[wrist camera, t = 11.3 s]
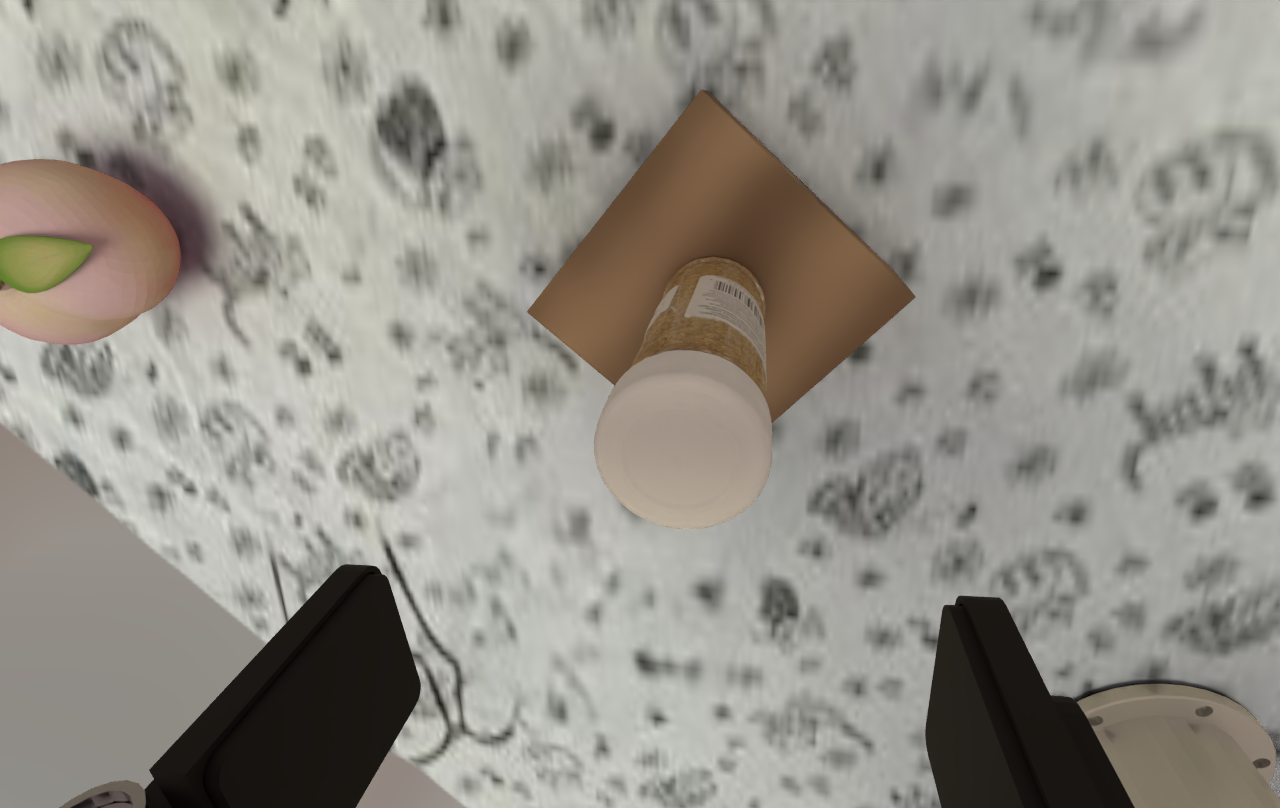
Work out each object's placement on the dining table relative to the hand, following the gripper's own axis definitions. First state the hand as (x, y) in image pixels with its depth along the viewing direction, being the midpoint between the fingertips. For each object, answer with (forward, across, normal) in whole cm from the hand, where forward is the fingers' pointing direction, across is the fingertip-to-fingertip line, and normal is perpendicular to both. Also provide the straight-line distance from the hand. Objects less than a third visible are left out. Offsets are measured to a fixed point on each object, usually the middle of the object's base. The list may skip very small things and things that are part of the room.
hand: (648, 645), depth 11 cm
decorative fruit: (+23, +32, -5) cm, 39 cm away
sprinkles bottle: (+19, 0, 0) cm, 19 cm away
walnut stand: (+23, 0, 0) cm, 23 cm away
